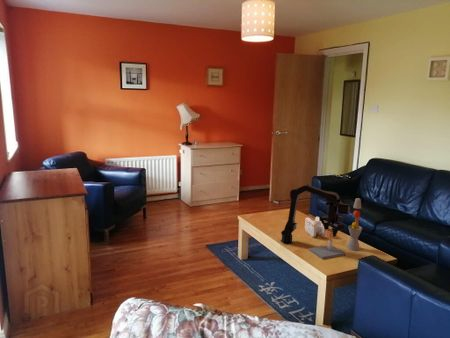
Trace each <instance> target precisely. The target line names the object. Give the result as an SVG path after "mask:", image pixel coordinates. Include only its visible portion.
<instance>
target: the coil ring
mask: <svg viewBox="0 0 450 338" xmlns="http://www.w3.org/2000/svg"><path fill="white" fill-rule="evenodd" d="M337 234H338V233H337ZM337 234H336V236H335V237H333V232H332V228H329V229H326V230H325V236H324V237H325V238H327V239H336V238H337Z"/></svg>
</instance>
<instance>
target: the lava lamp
mask: <svg viewBox="0 0 450 338" xmlns="http://www.w3.org/2000/svg"><path fill="white" fill-rule="evenodd" d="M354 200H355V201H354V203H353V209H355V210H354V211H353V216H354V220H355V221H354V222H352V224H350V225H347V226H348V230H349V235H350V238H349V240H348V243H347V245H346V249H347V250H350V251H354V252H359V251H360V250H361V246H360V243H359V236H360V234H361V232H362V230H363V227H362V226H360V225H359V220H360V215H361V212H360V210H359V209H362V201H361V198H359V197H358V198H357V197H356V198H355V199H354Z"/></svg>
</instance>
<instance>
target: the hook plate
mask: <svg viewBox="0 0 450 338" xmlns="http://www.w3.org/2000/svg"><path fill="white" fill-rule="evenodd" d="M308 249H309V250H308V251H309V252H311V253H312V254H314V255H315V256H316V257H318V258H319V259H321V260H325V259H330V258H331V257H332V258H337V257H343V256H346V252H344V251H343V250H341V249H339V248H338V247H336V246H334V245H333V239H332V238H328V241H327V245H321V246H320V245H319V246H314V247H309V248H308Z"/></svg>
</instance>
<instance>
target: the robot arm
mask: <svg viewBox="0 0 450 338" xmlns="http://www.w3.org/2000/svg"><path fill="white" fill-rule="evenodd" d="M305 192H308V193H311V194H313V195H315V196H318V197H321V198H323V199H324V200H325V201H327V202H325V204H324V205H325V206H327V212H326V213H325V215H322V216H319V221H321V223H322V224H323V226H324V229H325V230H326V229H330V224H331V225H332V227H331V229H332V232H333V237H335V236H336V237H337V235H336V234H338V232H339V230H344V229H345V224H344V223H343V222H344V220H345V217H343V216H340V215H346V216H349V215H350V213H351V207H350V204H349V203H344V202H342V201H341V199H340V195H339V194H338V193H337V192H335V191H327V190H323V189H321V188H318V187H315V186H313V185H310V184H308V183H305V184H304V185H302V186H300V187H295V188H293V189H291V190H290V192H289V199H290V205H289V212H288V217H287V218H288V219H287V222H286V224H285V227H284V228H283V230H282V231H280V234H281V239H280V242H281V243H282V244H284V245H288V244H289V245H290V244H293V232H294V231H295V230H296V229H297V225H298V223H297V222H296V215H297V208H298V202H299V199H300V198H301V195H302V193H305ZM339 214H340V215H339Z"/></svg>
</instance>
